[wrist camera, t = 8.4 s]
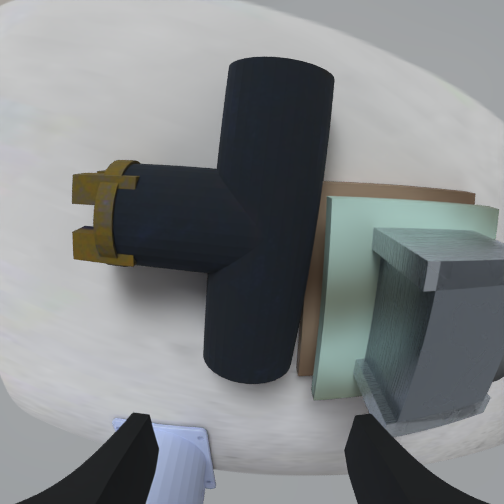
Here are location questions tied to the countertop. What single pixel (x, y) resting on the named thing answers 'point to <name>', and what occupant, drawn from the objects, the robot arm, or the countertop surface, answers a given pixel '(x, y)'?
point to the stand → (363, 269)
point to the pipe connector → (230, 214)
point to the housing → (433, 327)
